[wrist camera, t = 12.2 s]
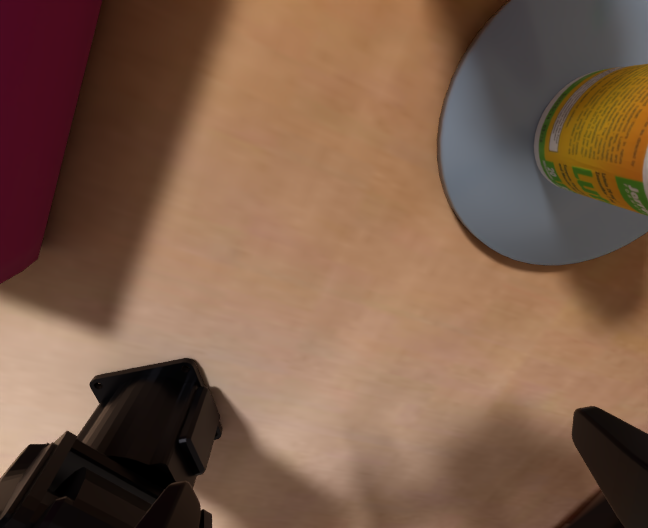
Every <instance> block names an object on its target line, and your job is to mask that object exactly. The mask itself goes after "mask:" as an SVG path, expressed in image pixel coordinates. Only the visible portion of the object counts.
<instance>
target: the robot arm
mask: <svg viewBox="0 0 648 528" xmlns="http://www.w3.org/2000/svg"><path fill="white" fill-rule="evenodd" d="M184 366H188V367H189V368H186V367H184ZM99 383H101V384H102V385H101V384H99ZM90 388H91V389H92V391H93V393H94V395H95V396H96V398H97V400H98V402H99V403H100V404H99V406H98V407H97V408H96V410H95V411H94V413H93V414H92V416H91V417H90V419H89V420H88V421H87V423H86V424H85V426H84V427H83V429H82V430H81V432H80V433H79V435H78V436H76V435H74V434H72V433H71V432H69V431H66V432H65V433H64V434H63V435H62V436H61V437H60V438H59V439H57V440H56V441H55V442H54V443H53V442H52V443H51V444H49V443H47V444H30V445H29V446H27V447H26V448H25V449H24V450H23V451H22V452H21V454H20V455H19V456H18V457H17V459H16V460H15V461H14V462H13V463H12V465H11V466H10V467H9V468H8V470H7V471H6V472H5V473H4V474H3V476H2V477H1V478H0V528H212V514H211V513H209V512H207V511H206V510H204V509H202V510H201V508H200V503H199V500H198V498H197V496H196V494H195V492H194V490H193V486H194V483H195V480H196V476H197V475H202V474H203V473H204V471H205V470H206V467H207V463H208V460H209V456H210V452H211V449H212V445H213V441H214V440H216V439H219V438H220V437H221V434H222V426H221V424H220V421H219V419H220V415H219V413H218V410H217V408H216V405H215V403H214V400H213V398H212V395H211V393H210V391H209V389H208V388H207V387H206V386H205V385H204V383H203V380H202V378H201V376H200V373H199V371H198V368H197V366H196V364H195V362H194V361H193V360H192V359H189V358H183V359H178V360H173V361H168V362H163V363H158V364H152V365H147V366H142V367H137V368H132V369H127V370H122V371H116V372H111V373H106V374H101V375H97V376H95V377H94V378H93V379H92V381H91V382H90ZM572 439H573V442H574V444H575V446H576V448H577V450H578V451H579V453H580V455H581V457H582V458H583V460H584V462H585V463H586V465H587V467H588V468H589V470H590V472H591V473H592V475H593V477H594V479H595V480H596V482H597V484H598V485H599V487H600V489H601V490H602V492H603V494H604V496H605V497H606V499H607V500H608V502H609V504H610V506H611V507H612V509H613V510H614V512H615V514H616V515H617V517H618V518H619V520H620V521H621V523H622V524H623V526H624V527H625V528H648V434H647V433H645V432H643V431H641V430H640V429H638V428H636V427H634V426H632V425H630V424H628V423H626V422H624V421H623V420H621V419H619V418H617V417H615V416H613V415H611V414H609V413H608V412H606V411H604V410H602V409H600V408H598V407H595V406H589V407H584V408H578V409H576V410H575V412H574V417H573V427H572Z"/></svg>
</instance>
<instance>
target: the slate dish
mask: <svg viewBox="0 0 648 528" xmlns="http://www.w3.org/2000/svg"><path fill="white" fill-rule="evenodd" d="M642 64H648V0H508V1H507V2H506V3H505V4H504V5H503V6H502V7H501V8H500V9H499V10H498V11H497V12H496V13H495V14H494V15H493V16H492V17H491V18H490V19H489V20H488V21H487V23H486V24H485V25H484V26H483V28H482V29H481V30H480V31H479V33H478V34H477V35H476V36H475V38H474V39H473V41H472V42H471V44H470V45H469V47H468V49H467V50H466V52H465V53H464V55H463V56H462V58H461V60H460V62H459V64H458V66H457V68H456V70H455V72H454V74H453V76H452V78H451V81H450V84H449V87H448V90H447V92H446V95H445V98H444V101H443V106H442V110H441V114H440V118H439V126H438V134H437V161H438V169H439V176H440V179H441V183H442V187H443V190H444V193H445V195H446V198H447V200H448V202H449V204H450V207H451V208H452V210H453V211H454V213H455V215H456V216H457V218H458V219H459V221H460V222H461V223H462V224H463V225H464V226H465V227H466V229H467V230H468V231H469V232H470V233H472V234H473V235H474V236H475V237H476V238H478V239H479V240H480V241H481V242H483V243H484V244H485V245H487V246H488V247H490V248H491V249H493V250H495V251H496V252H498V253H500V254H502V255H504V256H506V257H509V258H511V259H514V260H517V261H521V262H525V263H529V264H538V265H565V264H572V263H579V262H583V261H587V260H591V259H594V258H597V257H600V256H603V255H605V254H608V253H611V252H613V251H615V250H617V249H619V248H621V247H623V246H625V245H627V244H629V243H631V242H632V241H634V240H636V239H637V238H639V237H640V236H642V235H644V234H645V233H647V232H648V216H646V215H643V214H640V213H637V212H634V211H631V210H627V209H624V208H621V207H617V206H614V205H611V204H608V203H606V202H602V201H599V200H596V199H593V198H590V197H587V196H583V195H580V194H577V193H574V192H571V191H568V190H565V189H562V188H560V187H558V186H556V185H554V184H552V183H551V182H550V181H548V180H547V179H546V178H545V177H544V176H543V174H542V173H541V171H540V170H539V168H538V166H537V163H536V160H535V155H534V139H535V133H536V129H537V126H538V123H539V121H540V118H541V116H542V114H543V112H544V110H545V109H546V107H547V106H548V104H549V103H550V102H551V100H552V99H553V98H554V97H555V96H556V94H557V93H558V92H559V91H560V90H561V89H563V88H564V87H565V86H566V85H568V84H569V83H570V82H572V81H573V80H575V79H577V78H579V77H581V76H583V75H585V74H588V73H591V72H594V71H598V70H603V69H609V68H616V67H625V66H634V65H642Z"/></svg>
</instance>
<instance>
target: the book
mask: <svg viewBox="0 0 648 528" xmlns="http://www.w3.org/2000/svg"><path fill="white" fill-rule="evenodd" d="M101 4H102V0H0V284H1V283H3V282H4V281H6V280H8V279H10V278H11V277H13V276H15V275H16V274H18V273H20V272H22V271H23V270H24V269H26V268H27V267H28V266H29V265H31V264H32V263H33V262H34V261H36V260H37V259H38V256H39V252H40V248H41V244H42V240H43V236H44V232H45V228H46V224H47V220H48V216H49V212H50V208H51V204H52V200H53V196H54V192H55V188H56V184H57V180H58V176H59V172H60V168H61V164H62V160H63V156H64V152H65V148H66V144H67V140H68V136H69V132H70V128H71V124H72V120H73V116H74V112H75V108H76V104H77V100H78V96H79V92H80V88H81V84H82V80H83V76H84V72H85V68H86V64H87V60H88V56H89V52H90V48H91V44H92V40H93V36H94V32H95V28H96V24H97V20H98V16H99V12H100V8H101Z"/></svg>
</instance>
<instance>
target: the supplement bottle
mask: <svg viewBox="0 0 648 528" xmlns="http://www.w3.org/2000/svg"><path fill="white" fill-rule="evenodd" d="M534 155H535V160H536V163H537V166H538V168H539V170H540V171H541V173H542V174H543V176H544V177H545V178H546V179H547V180H548V181H550V182H551V183H552V184H554V185H556V186H558V187H560V188H562V189H565V190H568V191H571V192H574V193H577V194H580V195H583V196H587V197H590V198H593V199H596V200H599V201H602V202H606V203H608V204H611V205H614V206H617V207H621V208H624V209H627V210H631V211H634V212H637V213H640V214H643V215H646V216H648V64H642V65H634V66H625V67H616V68H609V69H603V70H598V71H594V72H591V73H588V74H585V75H583V76H581V77H579V78H577V79H575V80H573V81H572V82H570V83H569V84H568V85H566V86H565V87H564V88H563V89H561V90H560V91H559V92H558V93H557V94H556V96H555V97H554V98H553V99H552V100H551V102H550V103H549V104H548V106H547V107H546V109H545V110H544V112H543V114H542V116H541V118H540V121H539V123H538V126H537V129H536V133H535V139H534Z"/></svg>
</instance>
